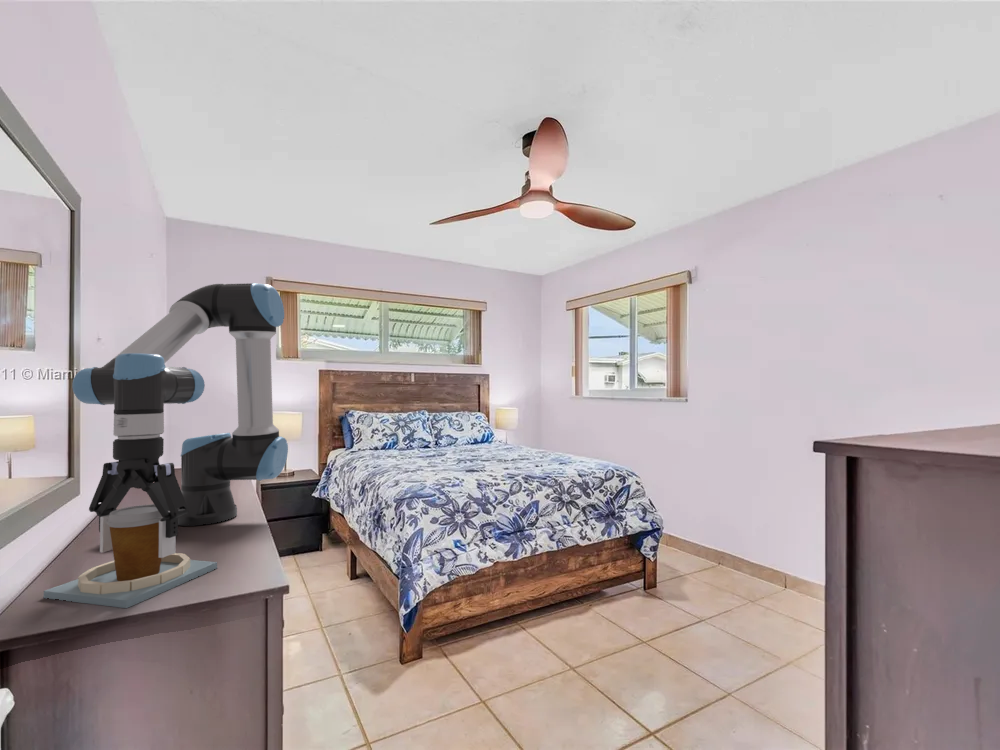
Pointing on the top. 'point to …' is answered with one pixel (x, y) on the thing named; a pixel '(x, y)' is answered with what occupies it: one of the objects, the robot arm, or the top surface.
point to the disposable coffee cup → (135, 541)
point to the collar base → (131, 595)
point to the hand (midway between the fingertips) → (137, 552)
